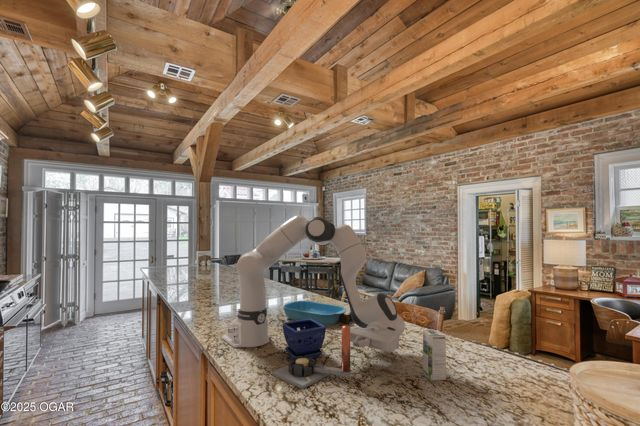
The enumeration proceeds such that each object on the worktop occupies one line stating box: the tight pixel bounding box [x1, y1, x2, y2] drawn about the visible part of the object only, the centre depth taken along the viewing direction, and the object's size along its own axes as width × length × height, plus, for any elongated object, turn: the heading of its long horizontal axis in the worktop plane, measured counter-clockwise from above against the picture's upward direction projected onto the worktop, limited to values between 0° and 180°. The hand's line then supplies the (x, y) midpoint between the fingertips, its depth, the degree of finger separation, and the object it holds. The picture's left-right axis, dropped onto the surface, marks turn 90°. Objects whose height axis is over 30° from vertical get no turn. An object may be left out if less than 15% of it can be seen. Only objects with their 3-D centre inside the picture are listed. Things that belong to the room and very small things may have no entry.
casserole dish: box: [282, 300, 347, 327], centre depth 173 cm, size 37×22×7 cm, turn 57°
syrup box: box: [422, 329, 447, 381], centre depth 105 cm, size 6×6×14 cm
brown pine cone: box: [339, 311, 353, 325], centre depth 170 cm, size 6×5×15 cm
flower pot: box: [282, 319, 327, 359], centre depth 123 cm, size 13×13×12 cm
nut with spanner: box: [287, 324, 352, 377], centre depth 105 cm, size 21×9×16 cm, turn 74°
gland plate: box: [272, 358, 331, 390], centre depth 106 cm, size 14×14×4 cm
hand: (356, 344), depth 107 cm, fingers closed
